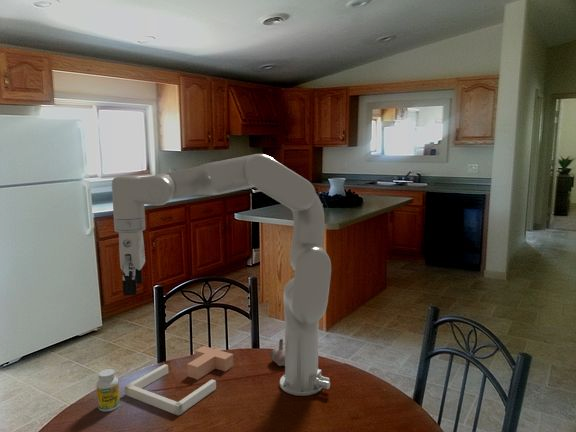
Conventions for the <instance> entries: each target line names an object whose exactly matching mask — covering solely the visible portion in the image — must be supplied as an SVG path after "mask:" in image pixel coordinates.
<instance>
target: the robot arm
mask: <svg viewBox="0 0 576 432" xmlns="http://www.w3.org/2000/svg"><path fill="white" fill-rule="evenodd" d="M251 188H256V189H257V190H258V191H260V192H261V193H263V194H265V195H266V196H268V197H270V198H272V199H274V200H275V201H276V202H278V203H280V204H282V206H284V207H286V208H288V209H289V210H291V212H292V217H293V226H292V227H293V228H292V229H293V231H292V238H291V247H290V254H289V262H290V266H291V268H292V269H293V271H294V277H292V278H291V279H290V280H289V281H288V282H287V283H286V284H285V286H284V290H283V293H282V295H283V297H282V298H283V299H282V300H283V312H284V348H285V366H284V374H283V375H282V376H281V377H280V379H279V388H280V389H282V391H283V392H285V393H287V394H290V395H293V396H302V397H303V396H305V397H306V396H311V395H314V394H317V393H319V392H320V391H322V389H323V388H324V389H327V390H329V389H330V387H331V381H330V379H331V378H330V377H327V376H323V375H322V369H319V320H321V318H322V317H324V315H325V313H326V311H327V307H328V302H329V295H330V285H331V277H332V262H331V258H330V256H329V254H328V253H327V251H326V250H325V249H324V237H325V236H324V234H325V211H324V207H323V204H322V201H321V199H320V197H319V195H318V194H317V193H316V189H315V186H314V185H313V184H312V183H311V181H309V180H308V179H306V178H304V177H303V176H301V175H299V174H298V173H296V171H294V170H292V169H290V168H288V167H287V166H285V165H283V164H282V163H280V162H279V161H277V160H276V159H274V157H272V156H269V155H267V154H264V153H254V154H250V155H249V154H248V155H243V156H239V157H233V158H228V159H223V160H219V161H212V162H208V163H204V164H200V165H198V166H193V167H190V168H185V169H178V170H174V171H170V172H165V173H163V172H162V173H158V174H155V175H152V176H146V177H141V176H138V175H137V176H135V175H126V176H124V175H121V176H116V177H114V178H113V179H112V180H111V193H112V194H111V195H112V211H113V227H114V229H113V230H114V232H116V233H118V244H119V245H118V251H119V254H118V255H119V266H120V270H121V271H122V294H123V297H124V296H136V295H137V294H138V289H137V287H138V285H141V284H143V269H142V268H143V267H144V265H145V263H146V256H145V255H146V254H145V253H146V252H145V241H144V240H145V239H144V233H143V231H145V230H146V214H145V212H146V211H145V205H146V206H147V205H149V206H164V205H165V204H168V203H169V202H170V201H171V200H176V199H181V198H186V197H192V196H193V197H194V196H199V195H201V196H202V195H205V196H217V195H222V194H223V195H224V194H229V193H232V192H237V191H241V190H247V189H251Z"/></svg>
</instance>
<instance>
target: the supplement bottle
mask: <svg viewBox="0 0 576 432" xmlns="http://www.w3.org/2000/svg"><path fill="white" fill-rule="evenodd" d="M119 385H120V384H119V379H118V377H116V371H115V369H113V368H112V369H111V368H108V369H107V368H106V369H103V370H101V371H99V372H98V381H97V382H96V396H97V397H96V398H97V408H98V410H99V411H101V412H111V411H115V410H116V409H117V408H119V406H120V404H121V401H120V397H121V396H120V386H119Z"/></svg>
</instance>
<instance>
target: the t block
mask: <svg viewBox="0 0 576 432" xmlns="http://www.w3.org/2000/svg"><path fill="white" fill-rule="evenodd" d="M194 353H195V354H194V355H195V359H193V360H192V361H190V362H187V365H186V366H187V367H186V368H187V377H188V378H192V379H195V380H200V379H201V378H202V377H204V376H206V375H207V374H209V373H210V372H212V371H214V370H216V369H217V370H219V371H223V372H227V371H229V370H230V369H231V368H233V367H234V353H231V352H230V353H229V352H227V351H223V350H220V349H215V348H212V347H209V346H205V345H203V346H202V347H200V348H197V349H196V350H195V352H194Z"/></svg>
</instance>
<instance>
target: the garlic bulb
mask: <svg viewBox="0 0 576 432" xmlns="http://www.w3.org/2000/svg"><path fill="white" fill-rule="evenodd" d="M278 346H279V347H275V348H274V349H272V350H271V352H270V359H271V360H272V362H274V363H276V365H277V366H279V367H283V366H284V367H285V347H284V339H283V338H280V339H279V343H278Z"/></svg>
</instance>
